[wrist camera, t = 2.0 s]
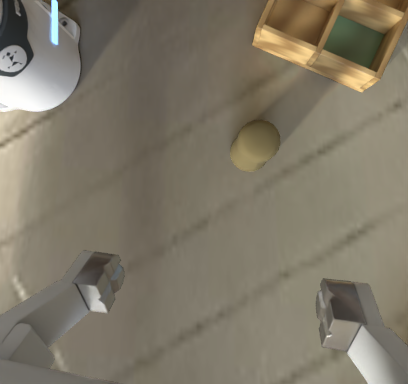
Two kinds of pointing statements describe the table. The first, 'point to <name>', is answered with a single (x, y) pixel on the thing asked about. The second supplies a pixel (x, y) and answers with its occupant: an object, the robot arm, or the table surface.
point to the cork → (255, 145)
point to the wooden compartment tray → (334, 36)
